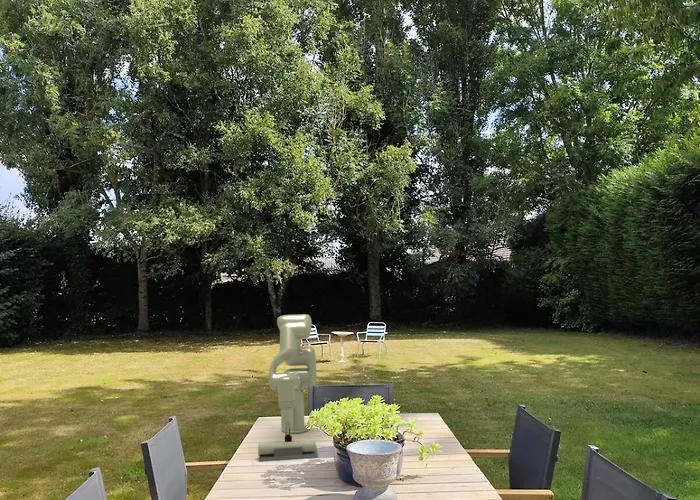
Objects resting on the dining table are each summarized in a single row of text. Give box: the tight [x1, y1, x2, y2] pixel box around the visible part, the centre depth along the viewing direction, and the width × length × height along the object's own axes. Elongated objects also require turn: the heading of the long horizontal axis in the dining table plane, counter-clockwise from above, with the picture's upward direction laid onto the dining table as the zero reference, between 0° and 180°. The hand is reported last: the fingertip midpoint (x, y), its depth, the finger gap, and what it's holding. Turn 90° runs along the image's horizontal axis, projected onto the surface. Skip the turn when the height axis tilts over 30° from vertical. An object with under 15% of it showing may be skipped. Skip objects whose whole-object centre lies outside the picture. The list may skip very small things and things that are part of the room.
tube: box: [257, 440, 317, 456], centre depth 247 cm, size 5×5×25 cm
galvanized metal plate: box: [258, 445, 319, 462], centre depth 249 cm, size 12×25×4 cm, turn 95°
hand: (288, 445), depth 252 cm, fingers closed
